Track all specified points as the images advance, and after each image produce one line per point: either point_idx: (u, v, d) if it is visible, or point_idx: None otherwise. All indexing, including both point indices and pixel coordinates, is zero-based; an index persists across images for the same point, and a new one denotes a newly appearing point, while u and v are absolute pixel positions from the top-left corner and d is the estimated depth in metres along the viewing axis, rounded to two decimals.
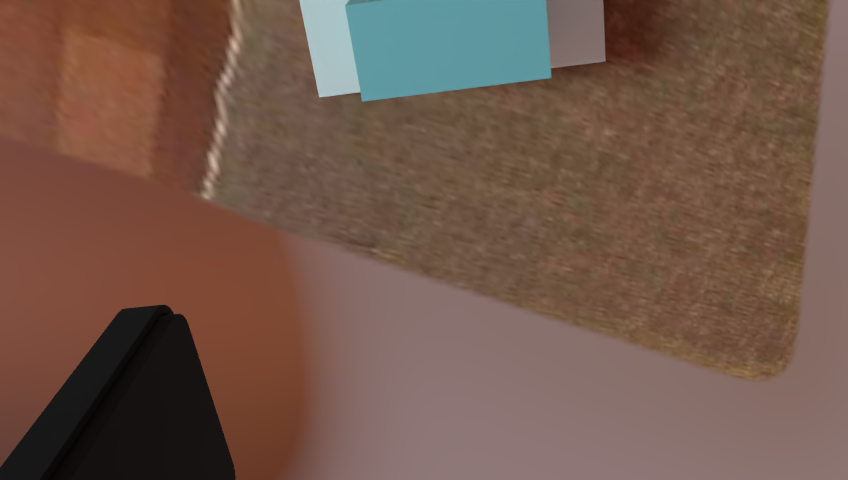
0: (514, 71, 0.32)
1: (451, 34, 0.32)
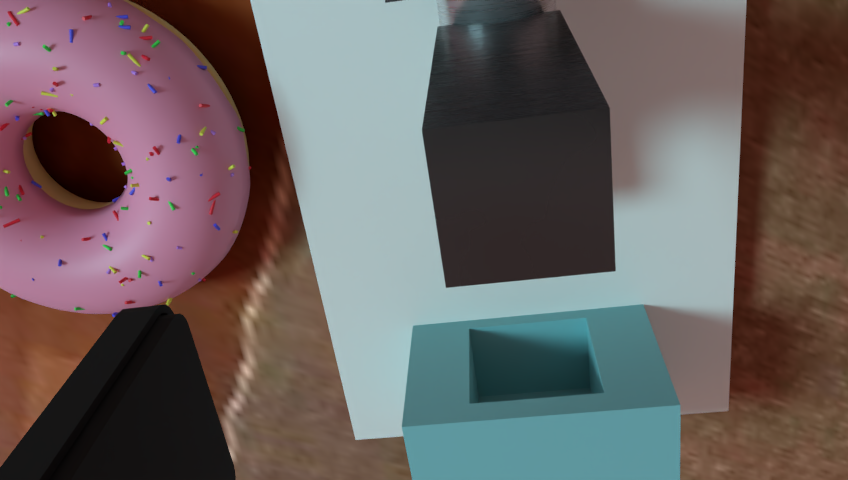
0: None
1: (546, 459, 0.23)
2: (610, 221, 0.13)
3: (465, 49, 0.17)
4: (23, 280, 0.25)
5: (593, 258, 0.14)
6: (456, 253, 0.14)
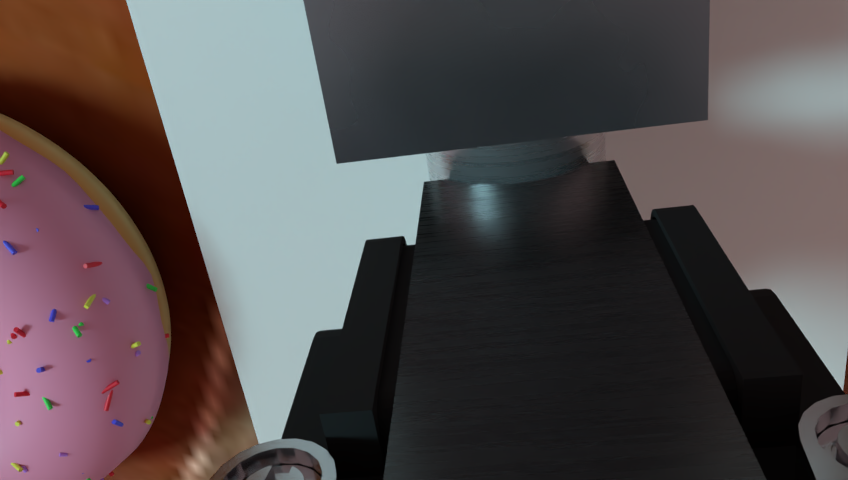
0: None
1: None
2: None
3: (467, 253, 0.10)
4: None
5: None
6: None
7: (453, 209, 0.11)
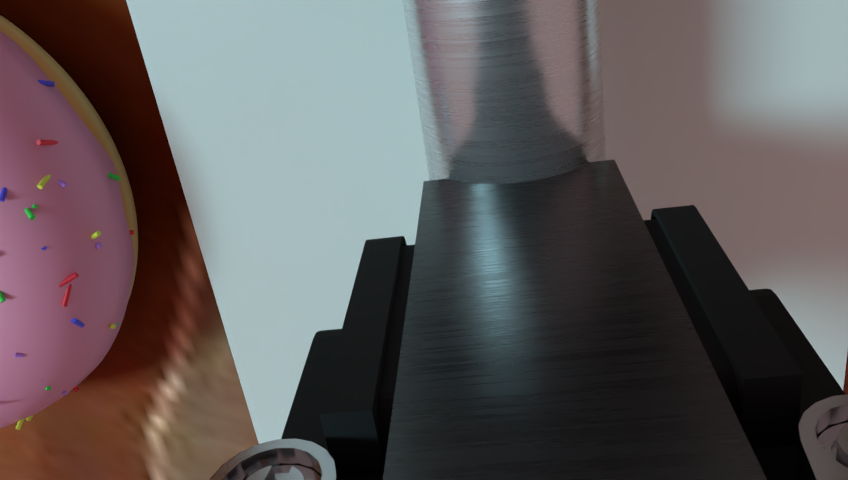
0: None
1: None
2: None
3: (467, 252, 0.10)
4: None
5: None
6: None
7: (453, 208, 0.11)
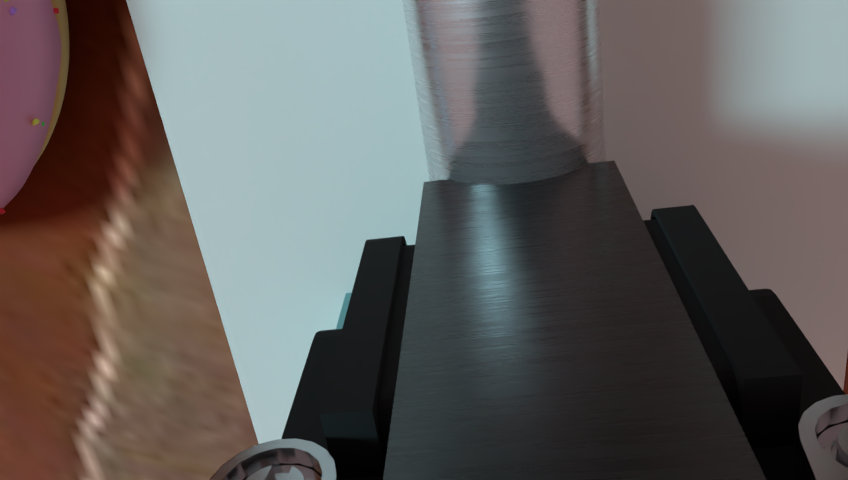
0: None
1: None
2: None
3: (467, 254, 0.10)
4: None
5: None
6: None
7: (453, 209, 0.11)
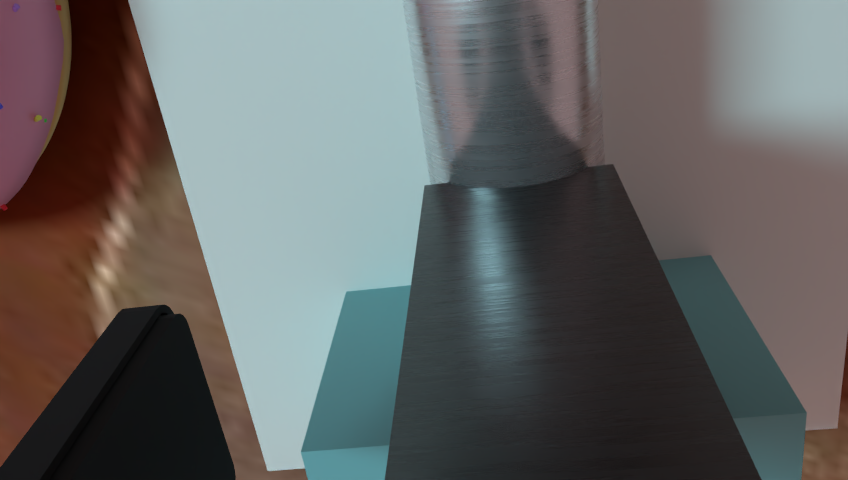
0: None
1: None
2: None
3: (467, 256, 0.10)
4: None
5: None
6: None
7: (453, 212, 0.11)
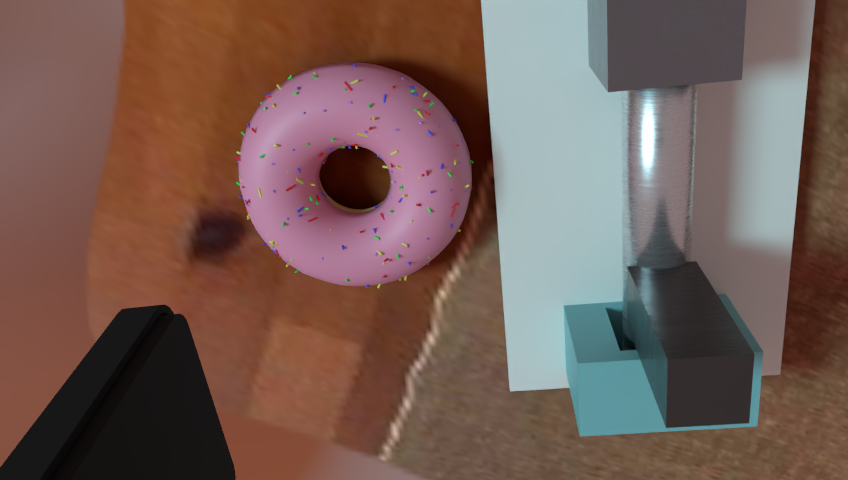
0: None
1: None
2: (749, 401, 0.28)
3: (656, 293, 0.32)
4: (315, 259, 0.36)
5: (739, 417, 0.29)
6: (674, 412, 0.29)
7: (644, 278, 0.33)
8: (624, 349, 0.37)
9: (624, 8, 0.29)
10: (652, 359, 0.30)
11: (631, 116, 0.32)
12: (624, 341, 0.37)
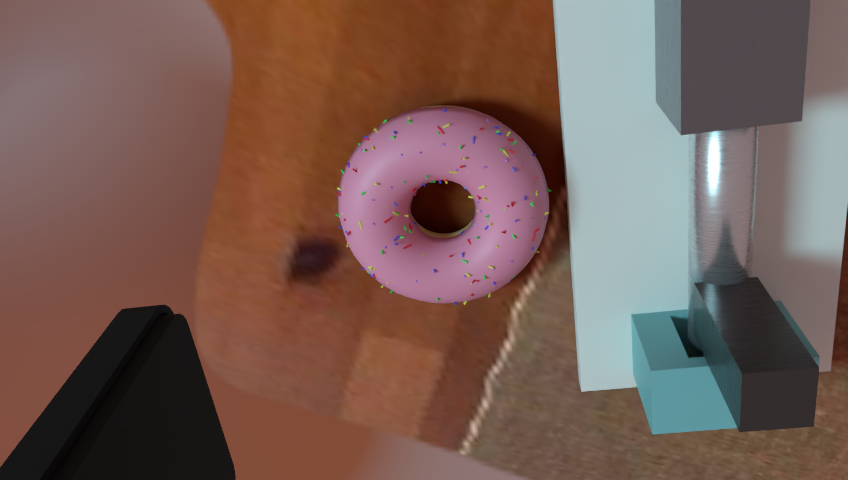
0: None
1: None
2: (814, 407, 0.32)
3: (724, 309, 0.36)
4: (410, 281, 0.40)
5: (804, 421, 0.33)
6: (747, 418, 0.33)
7: (711, 294, 0.37)
8: (690, 354, 0.41)
9: (696, 63, 0.32)
10: (724, 370, 0.34)
11: (699, 151, 0.36)
12: (690, 347, 0.41)
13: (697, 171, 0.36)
